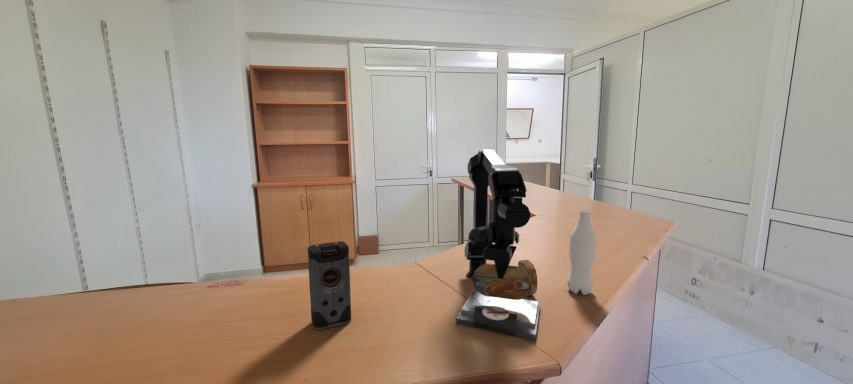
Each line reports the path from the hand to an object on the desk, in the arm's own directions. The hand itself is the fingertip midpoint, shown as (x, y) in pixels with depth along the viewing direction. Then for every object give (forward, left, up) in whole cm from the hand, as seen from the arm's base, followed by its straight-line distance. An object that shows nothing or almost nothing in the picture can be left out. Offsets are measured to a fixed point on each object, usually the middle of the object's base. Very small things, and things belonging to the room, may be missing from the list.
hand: (501, 276), depth 86 cm
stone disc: (-16, +5, -11) cm, 20 cm away
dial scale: (+1, 0, -11) cm, 11 cm away
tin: (0, 0, -6) cm, 6 cm away
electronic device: (+20, -39, -11) cm, 45 cm away
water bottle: (-23, +20, -11) cm, 32 cm away
